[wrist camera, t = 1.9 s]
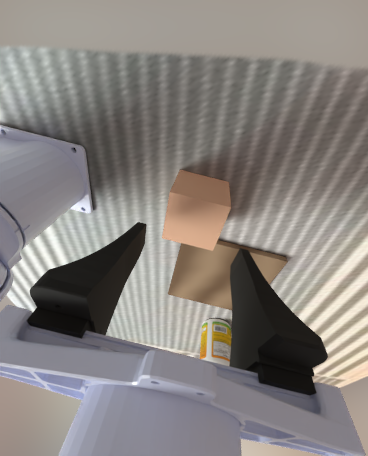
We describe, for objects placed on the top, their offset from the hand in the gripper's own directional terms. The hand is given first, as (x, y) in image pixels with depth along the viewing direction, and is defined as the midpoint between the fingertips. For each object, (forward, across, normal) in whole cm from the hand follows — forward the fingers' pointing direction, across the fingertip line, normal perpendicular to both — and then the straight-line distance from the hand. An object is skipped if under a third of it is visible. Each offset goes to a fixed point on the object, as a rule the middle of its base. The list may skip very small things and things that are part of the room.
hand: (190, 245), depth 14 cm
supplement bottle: (+8, -10, +26) cm, 28 cm away
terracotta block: (+8, 0, 0) cm, 8 cm away
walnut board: (+8, -6, +12) cm, 15 cm away
